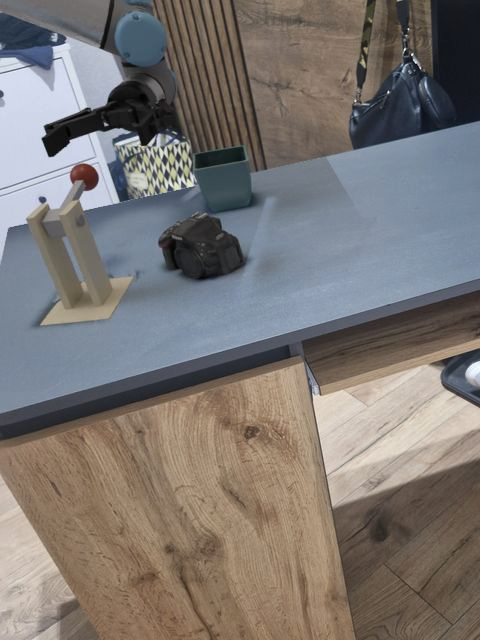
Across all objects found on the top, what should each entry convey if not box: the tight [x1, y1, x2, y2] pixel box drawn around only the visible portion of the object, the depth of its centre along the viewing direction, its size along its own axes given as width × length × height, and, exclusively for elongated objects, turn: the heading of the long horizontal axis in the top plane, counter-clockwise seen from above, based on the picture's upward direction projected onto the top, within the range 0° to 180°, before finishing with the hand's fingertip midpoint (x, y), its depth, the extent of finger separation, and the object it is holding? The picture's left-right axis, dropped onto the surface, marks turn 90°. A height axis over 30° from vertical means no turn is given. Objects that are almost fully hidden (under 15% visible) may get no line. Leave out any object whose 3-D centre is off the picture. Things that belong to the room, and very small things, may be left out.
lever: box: [42, 162, 100, 238], centre depth 82 cm, size 14×4×4 cm, turn 179°
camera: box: [157, 211, 246, 280], centre depth 87 cm, size 11×8×9 cm
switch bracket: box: [25, 199, 135, 327], centre depth 81 cm, size 11×9×14 cm
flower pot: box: [192, 144, 252, 213], centre depth 105 cm, size 9×9×9 cm
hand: (94, 142), depth 90 cm, fingers open, 13 cm apart
